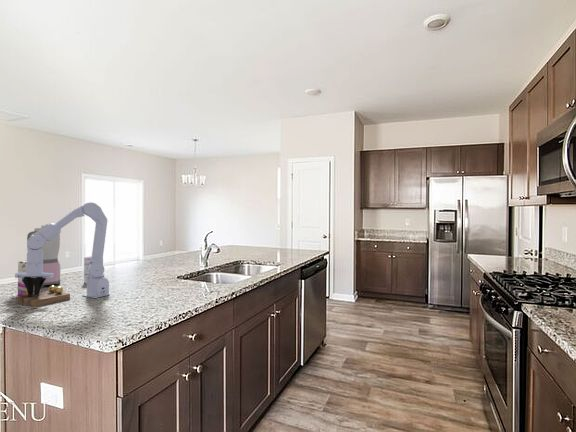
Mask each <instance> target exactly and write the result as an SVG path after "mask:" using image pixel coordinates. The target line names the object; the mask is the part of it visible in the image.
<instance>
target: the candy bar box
mask: <svg viewBox="0 0 576 432" xmlns="http://www.w3.org/2000/svg"><path fill="white" fill-rule="evenodd" d="M17 264H18V266H17V267H18V269H17V273H26V266H27V260H19V261H17ZM22 279H24V278H17V297H18V296H23V295H28V292H27V289H26V286H25V284H24V283H23V282H22ZM40 292H42V288H41V289H40Z"/></svg>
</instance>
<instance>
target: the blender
mask: <svg viewBox="0 0 576 432" xmlns="http://www.w3.org/2000/svg"><path fill="white" fill-rule="evenodd" d="M45 225H46V224H44V225H43V224H42V225H41V226H40V227H34V230H33V231H30V232H28V234H27V237H26V242H27V241H28V239H29V238H30V237H31V236H35V234H34V233H35V232H39V231H40V230H42V229H43V228H44V227H45ZM60 244H61V233H60V234H58V235H57V236H55V237H54V238H53V239H51V240H50V241H48V242H45V243H44V245H43V272H44V273H54V276H53V278H46V280H45V281H44V283H43V285H42V287H41V288H44V286H47V285H48V286H49V285H50V286H51V285H55V284H58V285H61V264H60V262H59V260H58V258H59V252H60V246H61V245H60ZM26 247H27V248H26V250H27V249H28V245H27V244H26Z"/></svg>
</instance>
